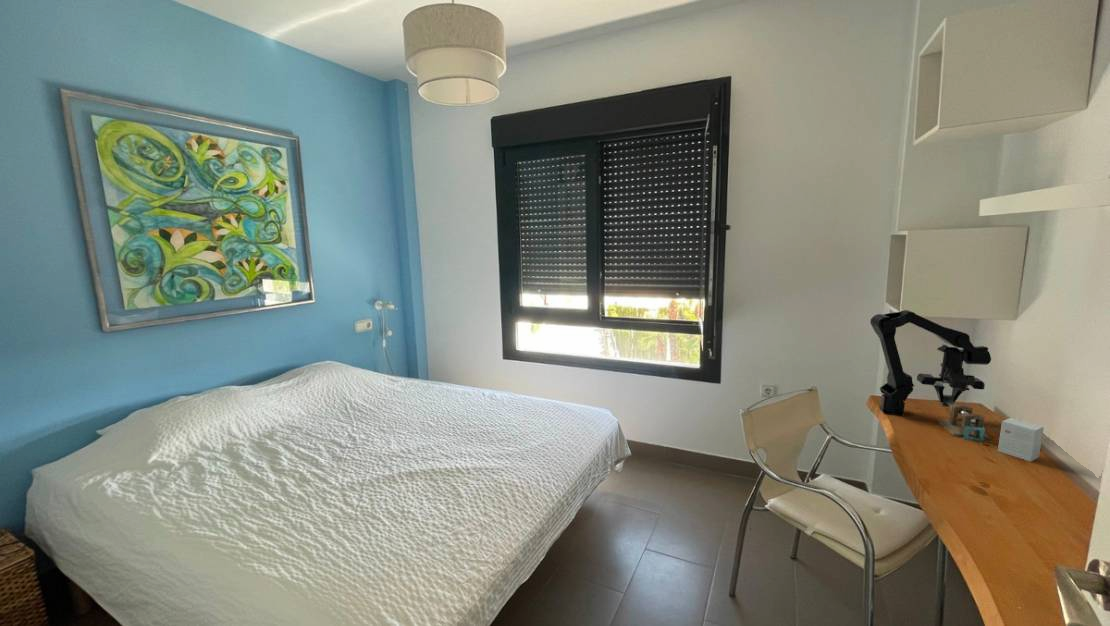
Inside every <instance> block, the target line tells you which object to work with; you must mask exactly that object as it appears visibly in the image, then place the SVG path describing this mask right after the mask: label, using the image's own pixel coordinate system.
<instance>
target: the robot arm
mask: <svg viewBox="0 0 1110 626" xmlns="http://www.w3.org/2000/svg"><path fill="white" fill-rule="evenodd" d="M909 323H910V324H912V325H913V326H915V327H918V328H921V329H923V330H924V331H927V332H929V333H931V334H933V335H935V336H936V337H937V338H938V339H940V340H941V341H942V342H944V343H945V344H942V345H941V346H939V347H938V348H936V350H937V351H939V352H942V353H943V356H942V361H941V363H940V366H941V370H940V373H939V374H938V376H939V377H938V376H937V377H935V376H933V375H932V374H930V373H929V374H928V373H919V374H917V375H916V381H918V382H919V383H920V384H921V385H926V386H927V385H929V386H933V388H934V389H935V392H936V394H937V397H938V401H939V402H940V403H941V402H942V400H943V395H944V390H945V388H946V387H945V386H944V384H948V386H949V388H952V392H951V395H953V396H954V397H955V398H954V402H955V403H956V401H957V400H958V398H959V397H960V396H961V394H962V393H964V392H965V391H970V388H969V386H970V387H971V388H972V389H974V390H981V391H982V390H985V387H986V384H985V382H984V381H983V380H981V379H980V378H978V377H975V376H974V375H970V374H969V375H968V374H965V373H964V371H965V370H964V368H963V367H964V366H963V365H964V363H965V364H966V365H980V366H981V365H984V366H986V365H989V364H990V363H991V361H992V357H991V353H990V351H989V347H987V346H984V345H979V346H976V345H975V346H974V345H973V343H972V342H971V338H970V337H971V336H970V335H969V334H968V333H966V332H964V331H960V330H957V329H954V328H950V327H946V326H942V325H941V324H938V323H936V322H933V321H932V320H929V319H927V318H926V317H923V316H922V315H918V314H917V313H915V312H913V311H911V310H908V309H907V310H906V309H904V310H900V311H895V312H889V313H884V314H882V313H878V314H875V315H873V316H872V318H871V319H870V325H871V326H872V329H873V331H874V333H875V334H876V335H877V337H878V339H879V341H880V344H881V348H882V352H883V356H884V359H885V364H886V367H887V369H888V373H887V376H886V381H887V382H886V383H884V384H883V385H882V386H881V387H879V391H880V393H881V394H882V395H881V400H880V406H878V408H879V410H880V411H881V412H882V413H883V414H887V415H894V414H895V415H896V416H904V415H905V414H904V411H905V405H906V403H905V402H906V400H907V399H908V397H909V395H911V394H912V392H913V391H914V387H915V385H914V382H913V377H912V376H911V375H909V374H908V373H907V372H904V369H903V365H902V361H901V357H900V354H899V350H898V345H897V342H896V340H895V336H896V332H897V328H900V327H903V326H905V325H907V324H909ZM946 344H948V345H951V346H948V345H946ZM960 348H961V349H960Z"/></svg>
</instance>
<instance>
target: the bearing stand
mask: <svg viewBox="0 0 1110 626" xmlns="http://www.w3.org/2000/svg"><path fill="white" fill-rule="evenodd" d="M959 409H963V410H965V411H966V412H967V413H963V416H962V418H961V420H958V417H959V413H958V412H959ZM973 411H974V410H973V407H972V406H971V405H963V404H961V405H960V404H957V405H953V404H952V407H951V412H950V419H943V418H937V420H938V421H937V423H939V422H940V423H939V425H941V424H942V425H943V426H944V427H943V426H942V425H941V426H942V427H943V429H945V430H946V429H947V430H946V431H947V432H948V431H949V432H948V433H949V434H950V433H951V434H952V435H953V437H959V436H960V437H961V438H963V431H964V425H972V426H981V427H984V422H985V416H984V415H982V414H979V413H978V414H977V413H973ZM970 418H975V419H976V420H977V423H976V424H971V423H970V422H969V421H970ZM978 432H979V430H971V429H969V436H971V437H978ZM951 434H950V435H951ZM952 435H951V436H952ZM983 440H985V441H990V440H991V437H990V436H989V435H988V434H987V433H985V432H984V437H983Z"/></svg>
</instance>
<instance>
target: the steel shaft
mask: <svg viewBox="0 0 1110 626" xmlns="http://www.w3.org/2000/svg"><path fill="white" fill-rule="evenodd" d="M954 398H955V397H954V396H953V395H952V394H951V395H950V394H943V400H942V402H940V406H943V407H948V408H952V404H953V405H958V403H956V401H955V402H954ZM963 413H967V412H966V411H965V410H964V409H959V412H958V415H960V416H963ZM969 422H970V423H971V424H974V425H975V424H976V423H977V420H976V418H970V421H969Z"/></svg>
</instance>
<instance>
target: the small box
mask: <svg viewBox="0 0 1110 626" xmlns="http://www.w3.org/2000/svg"><path fill="white" fill-rule="evenodd" d="M1044 428H1045V427H1044V426H1042V425H1039V424H1036V423H1031V422H1027V421H1024V420H1020V419H1016V418H1013V417H1010V418H1006V419H1004V420H1001V427H1000V434H999V439H998V440H999V441H998V447H997V452H999V453H1002V454H1005V455H1009V456H1012V457H1015V458H1018V459H1021V460H1023V459H1024V460H1023V461H1026V462H1030V463H1031V462H1033V461H1035V460H1037V459H1039V458H1038V457H1040V452H1041V446H1042V440H1043V434H1044Z"/></svg>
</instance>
